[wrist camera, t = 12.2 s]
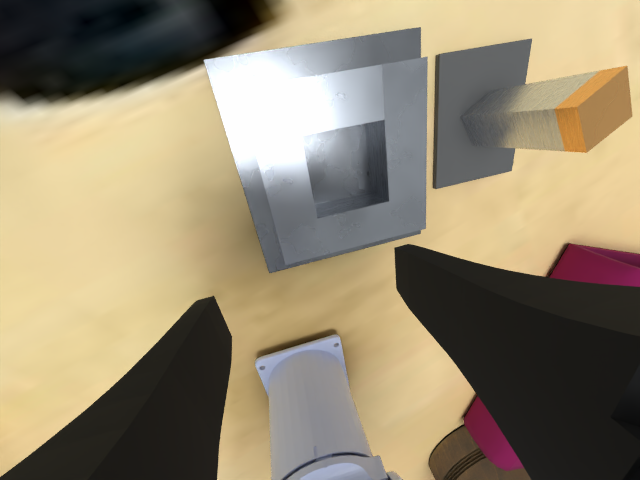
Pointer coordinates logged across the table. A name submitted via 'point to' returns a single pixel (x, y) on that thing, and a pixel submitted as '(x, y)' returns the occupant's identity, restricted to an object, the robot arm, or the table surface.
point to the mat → (459, 95)
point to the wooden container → (467, 461)
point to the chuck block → (328, 142)
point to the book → (571, 266)
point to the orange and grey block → (552, 113)
